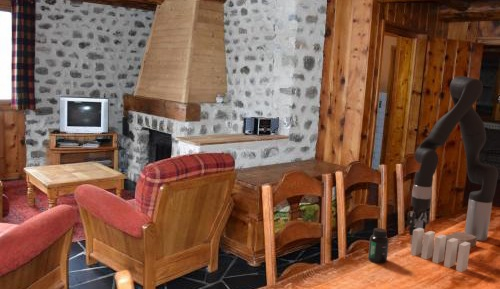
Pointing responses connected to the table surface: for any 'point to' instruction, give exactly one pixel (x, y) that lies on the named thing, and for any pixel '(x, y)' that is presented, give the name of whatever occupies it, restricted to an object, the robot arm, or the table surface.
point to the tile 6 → (463, 256)
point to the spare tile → (419, 225)
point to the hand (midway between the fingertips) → (416, 233)
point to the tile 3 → (428, 245)
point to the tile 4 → (439, 248)
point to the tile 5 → (451, 252)
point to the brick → (462, 238)
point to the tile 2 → (417, 241)
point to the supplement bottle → (378, 246)
